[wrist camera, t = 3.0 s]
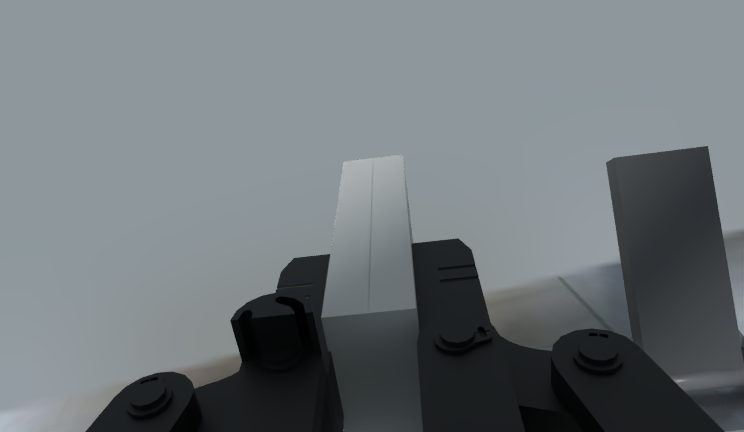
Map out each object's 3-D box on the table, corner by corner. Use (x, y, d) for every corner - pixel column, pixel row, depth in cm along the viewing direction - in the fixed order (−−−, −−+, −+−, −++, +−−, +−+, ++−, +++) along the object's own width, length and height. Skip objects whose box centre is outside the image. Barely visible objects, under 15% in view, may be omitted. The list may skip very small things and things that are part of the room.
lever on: (746, 382, 34) (707, 149, 35) (761, 387, 33) (720, 144, 34) (627, 393, 35) (593, 164, 36) (637, 399, 33) (601, 159, 34)
